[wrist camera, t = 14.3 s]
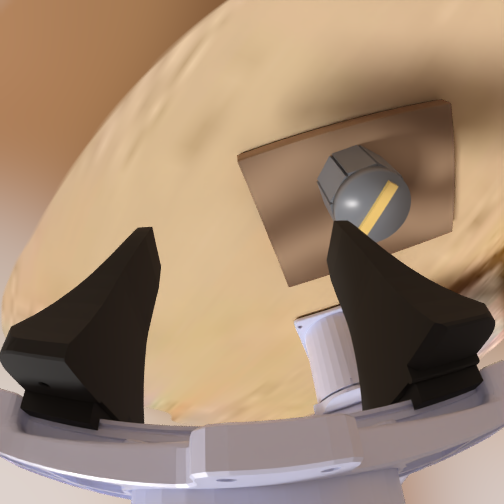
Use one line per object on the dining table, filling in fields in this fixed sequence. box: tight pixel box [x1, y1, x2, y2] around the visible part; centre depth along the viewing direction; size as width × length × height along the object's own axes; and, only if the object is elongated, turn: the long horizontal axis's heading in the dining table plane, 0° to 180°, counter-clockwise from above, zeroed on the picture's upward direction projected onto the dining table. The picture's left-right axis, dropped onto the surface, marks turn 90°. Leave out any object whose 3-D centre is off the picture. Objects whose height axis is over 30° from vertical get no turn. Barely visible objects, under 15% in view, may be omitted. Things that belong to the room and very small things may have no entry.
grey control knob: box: [317, 145, 411, 242], centre depth 19 cm, size 5×5×4 cm
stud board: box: [237, 99, 455, 287], centre depth 21 cm, size 12×16×4 cm
